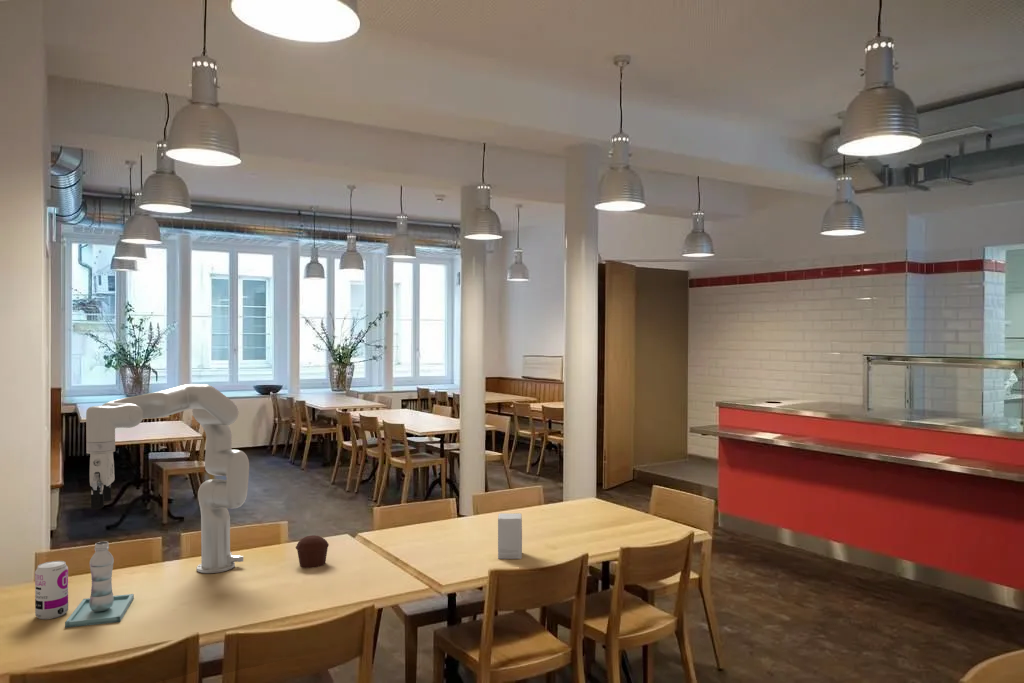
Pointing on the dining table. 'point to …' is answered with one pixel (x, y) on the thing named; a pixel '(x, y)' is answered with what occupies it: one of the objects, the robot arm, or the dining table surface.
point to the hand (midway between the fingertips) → (101, 504)
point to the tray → (99, 612)
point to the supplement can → (51, 590)
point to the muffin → (312, 551)
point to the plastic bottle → (101, 578)
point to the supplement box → (510, 536)
